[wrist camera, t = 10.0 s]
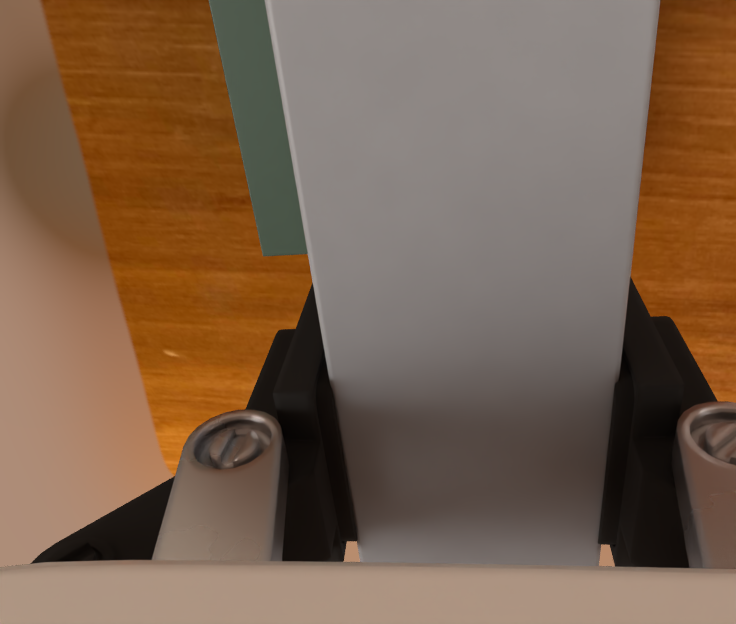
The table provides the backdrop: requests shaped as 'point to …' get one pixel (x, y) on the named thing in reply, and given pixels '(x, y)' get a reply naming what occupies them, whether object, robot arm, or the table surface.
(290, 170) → the desk shelf
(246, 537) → the robot arm
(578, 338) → the case
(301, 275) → the table surface
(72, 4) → the table surface
